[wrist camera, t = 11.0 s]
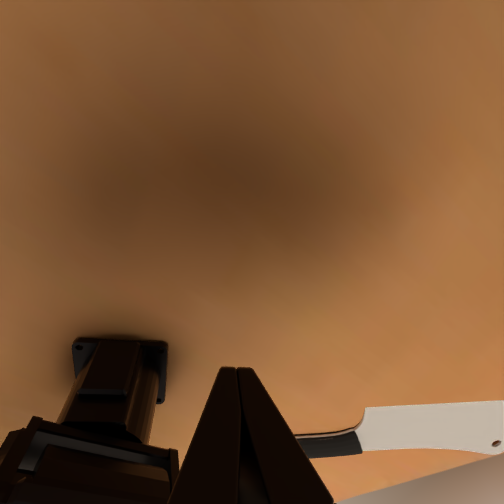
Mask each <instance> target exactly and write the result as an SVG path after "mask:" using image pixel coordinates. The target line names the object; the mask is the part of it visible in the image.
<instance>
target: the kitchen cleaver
mask: <svg viewBox="0 0 504 504" xmlns="http://www.w3.org/2000/svg"><path fill="white" fill-rule="evenodd" d="M294 436H295V438H296V439H297V441H298V442H299V444H300V446H301V447H302V449H303V451H304V452H305V454H306V455H307V457H308V459H309V458H323V457H336V456H346V455H355V454H361V453H362V451H371V450H390V449H411V448H436V449H453V450H464V451H472V452H478V453H484V454H491V455H495V454H500V453H502V452H503V451H504V400H500V401H481V402H461V403H442V404H423V405H404V406H385V407H366V408H365V412H364V415H363V418H362V420H361V421H360V423H359V424H358V425H357V426H356V427H355V428H349V429H346V430H342V431H337V432H330V433H317V434H301V435H294ZM497 440H499V442H498V443H497V444H496V445H492V443H493V442H494V441H497Z"/></svg>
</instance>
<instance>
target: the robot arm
mask: <svg viewBox="0 0 504 504" xmlns="http://www.w3.org/2000/svg"><path fill="white" fill-rule="evenodd" d="M80 345H81V346H80ZM160 349H162V350H160ZM72 354H73V361H74V369H75V376H76V381H75V383H74V385H73V387H72V389H71V391H70V394H69V396H68V398H67V400H66V402H65V404H64V407H63V409H62V411H61V413H60V415H59V417H58V420H57V422H56V423H53V422H49V421H45V420H43V418H41V417H36V416H33V417H32V419H31V420H30V422H29V424H28V426H27V428H22V429H20V430H16V431H11V432H9V434H8V435H7V437H6V439H5V441H4V442H3V444H2V446H1V447H0V504H333V503H334V499H333V497H332V496H331V494H330V493H329V491H328V489H327V488H326V486H325V484H324V483H323V481H322V480H321V478H320V476H319V475H318V473H317V472H316V470H315V468H314V467H313V465H312V463H311V462H310V460H309V459H308V457H307V455H306V454H305V452H304V451H303V449H302V447H301V446H300V444H299V442H298V441H297V439H296V438H295V436H294V434H293V433H292V431H291V429H290V428H289V426H288V425H287V423H286V421H285V420H284V418H283V417H282V415H281V413H280V412H279V410H278V408H277V407H276V405H275V404H274V402H273V400H272V399H271V397H270V396H269V394H268V392H267V391H266V389H265V387H264V386H263V384H262V383H261V381H260V379H259V378H258V376H257V375H256V373H255V371H254V370H253V369H252V368H250V367H238V368H237V369H236V368H235V367H221V368H220V369H219V372H218V374H217V377H216V379H215V382H214V385H213V387H212V390H211V392H210V395H209V397H208V400H207V402H206V405H205V408H204V410H203V413H202V415H201V418H200V420H199V423H198V425H197V428H196V430H195V433H194V436H193V438H192V441H191V443H190V446H189V448H188V451H187V453H186V456H185V459H184V461H183V464H182V466H181V469H180V471H179V460H178V450H175V449H171V448H169V449H164V448H160V447H155V446H151V445H148V443H149V438H150V432H151V427H152V421H153V416H154V410H155V405H156V404H162V403H163V402H164V401H165V392H166V376H167V359H168V345H167V344H166V343H163V342H148V341H128V340H108V339H87V338H78V339H76V340H75V341H74V342H73V344H72ZM334 504H336V503H334Z"/></svg>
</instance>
